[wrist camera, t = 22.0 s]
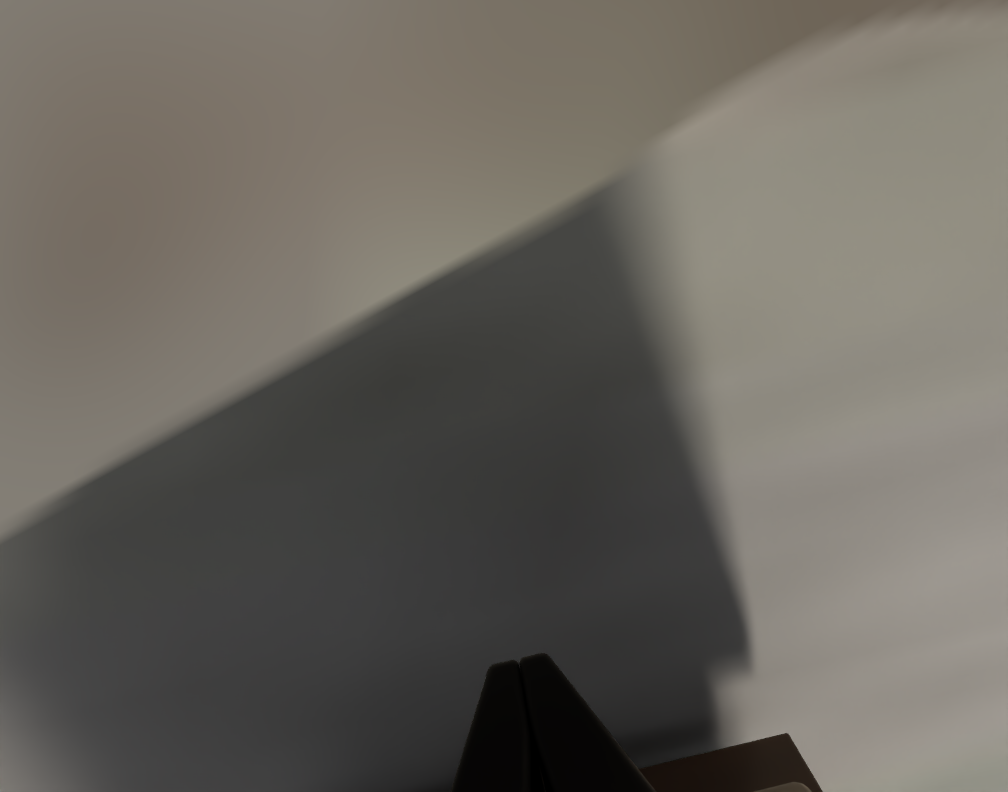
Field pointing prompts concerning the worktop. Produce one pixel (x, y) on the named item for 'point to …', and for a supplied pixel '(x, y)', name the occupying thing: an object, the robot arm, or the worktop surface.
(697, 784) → the drawer
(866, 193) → the worktop surface
